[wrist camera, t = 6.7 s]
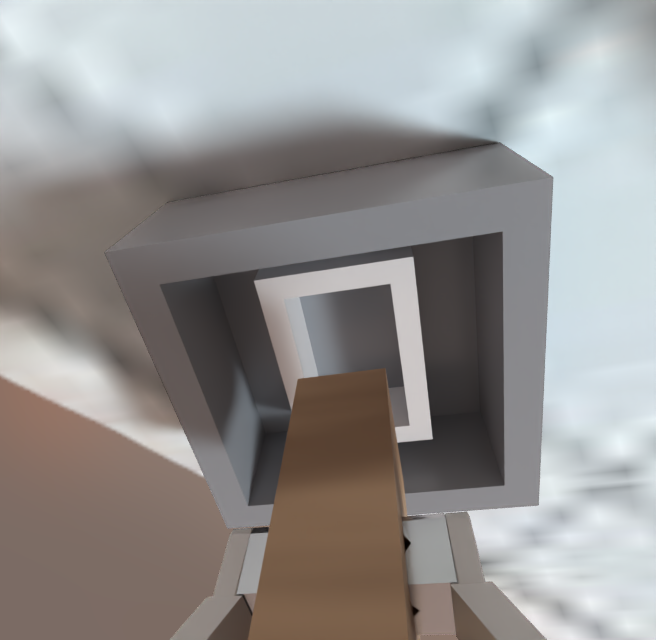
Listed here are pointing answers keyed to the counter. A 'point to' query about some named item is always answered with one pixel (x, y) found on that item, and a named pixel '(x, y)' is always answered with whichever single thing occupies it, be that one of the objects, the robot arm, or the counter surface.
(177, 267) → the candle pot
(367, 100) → the counter surface
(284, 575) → the tan wooden brick
